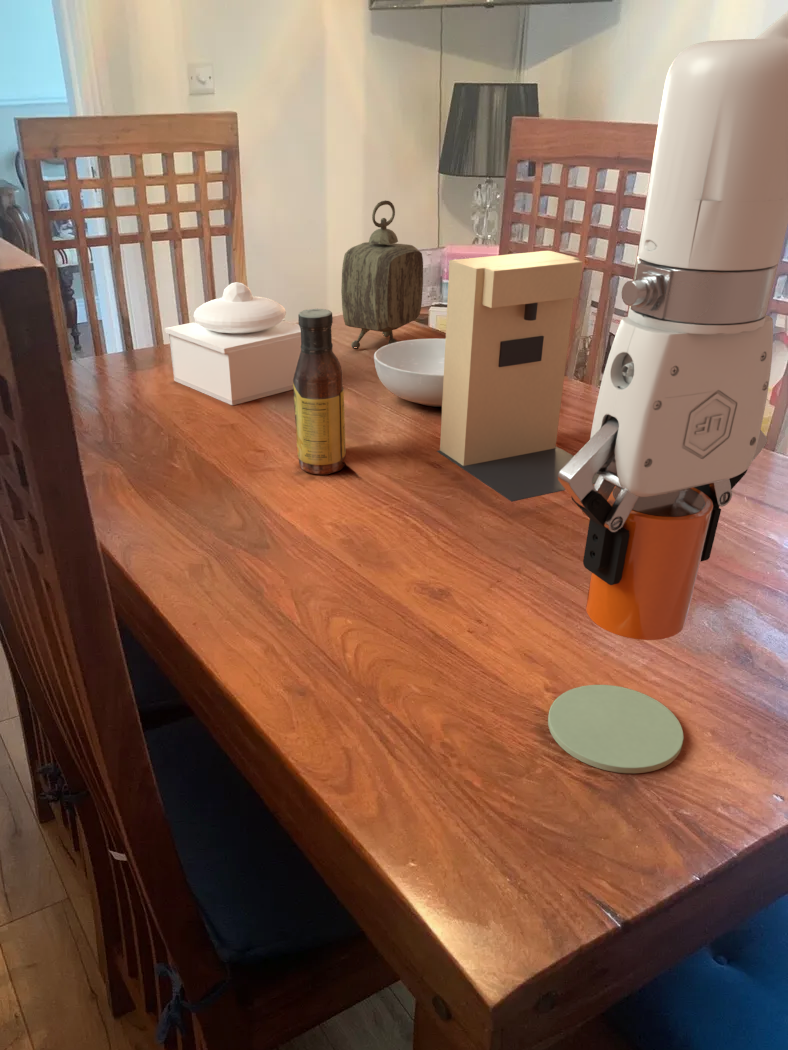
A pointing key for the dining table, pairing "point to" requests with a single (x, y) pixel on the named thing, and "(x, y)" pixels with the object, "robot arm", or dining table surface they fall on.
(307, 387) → the sauce bottle
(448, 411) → the coffee maker
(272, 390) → the white lidded box
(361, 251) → the tabletop clock
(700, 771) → the dining table surface
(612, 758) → the coaster
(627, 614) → the orange cup
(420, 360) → the serving bowl
